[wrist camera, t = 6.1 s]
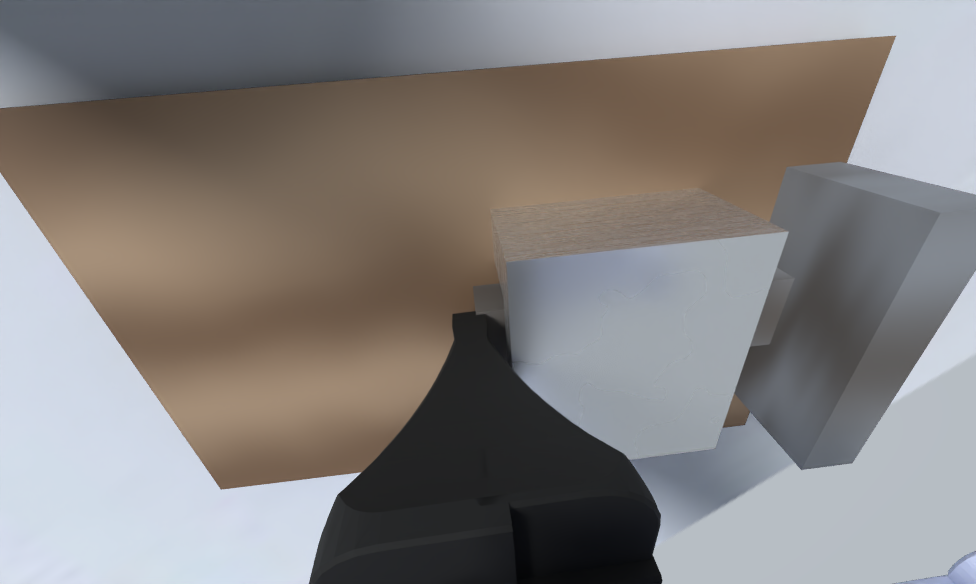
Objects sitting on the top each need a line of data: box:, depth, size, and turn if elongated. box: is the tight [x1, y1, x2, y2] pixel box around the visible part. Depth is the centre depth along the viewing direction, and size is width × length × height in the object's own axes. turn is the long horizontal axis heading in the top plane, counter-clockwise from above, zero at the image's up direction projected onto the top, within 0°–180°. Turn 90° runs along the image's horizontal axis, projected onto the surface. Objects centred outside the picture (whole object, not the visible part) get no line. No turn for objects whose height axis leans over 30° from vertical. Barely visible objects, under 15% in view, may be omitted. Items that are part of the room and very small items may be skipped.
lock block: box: [491, 188, 789, 460], centre depth 11 cm, size 7×6×3 cm
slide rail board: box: [0, 36, 976, 489], centre depth 11 cm, size 14×22×5 cm, turn 94°
